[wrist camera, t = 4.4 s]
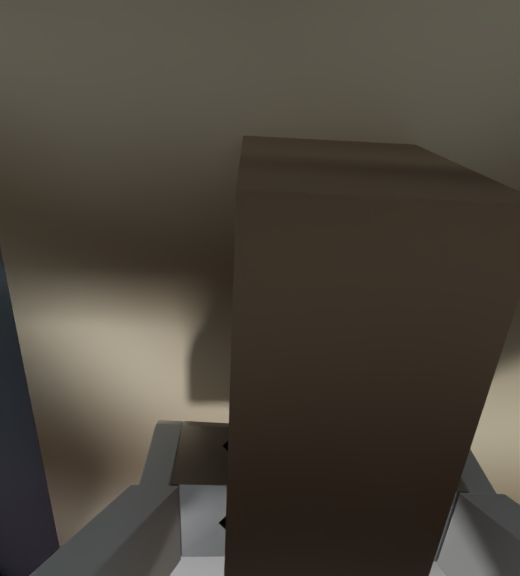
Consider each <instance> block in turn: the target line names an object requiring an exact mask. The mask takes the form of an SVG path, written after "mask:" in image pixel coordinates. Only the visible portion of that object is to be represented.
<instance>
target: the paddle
mask: <svg viewBox="0 0 520 576" xmlns="http://www.w3.org/2000/svg"><path fill="white" fill-rule="evenodd" d="M519 297H520V192H519V191H517V190H515V189H513V188H510V187H508V186H506V185H504V184H502V183H499V182H497V181H495V180H493V179H490V178H488V177H486V176H484V175H482V174H479V173H477V172H475V171H473V170H471V169H468V168H466V167H464V166H462V165H459V164H457V163H455V162H453V161H451V160H448V159H446V158H444V157H442V156H439V155H437V154H435V153H433V152H431V151H428V150H426V149H424V148H422V147H419V146H417V145H412V144H394V143H375V142H356V141H337V140H318V139H300V138H281V137H262V136H243V140H242V148H241V156H240V163H239V171H238V178H237V186H236V206H235V238H234V271H233V303H232V335H231V368H230V400H229V432H228V465H227V497H226V529H225V556H221V557H181V560H180V562H179V563H178V565H177V566H176V567H175V569H174V570H173V572H172V573H171V574H170V576H446V575H445V573H444V572H443V571H442V570H441V569H440V568H439V567H438V565H437V562H434V559H435V555H436V552H437V549H438V546H439V543H440V540H441V537H442V534H443V531H444V528H445V525H446V522H447V519H448V515H449V512H450V509H451V506H452V503H453V500H454V497H455V494H456V491H457V488H458V485H459V482H460V479H461V476H462V472H463V469H464V466H465V463H466V460H467V457H468V454H469V451H470V448H471V445H472V442H473V439H474V436H475V433H476V429H477V426H478V423H479V420H480V417H481V414H482V411H483V408H484V405H485V402H486V399H487V396H488V393H489V389H490V386H491V383H492V380H493V377H494V374H495V371H496V368H497V365H498V362H499V359H500V356H501V353H502V350H503V346H504V343H505V340H506V337H507V334H508V331H509V328H510V325H511V322H512V319H513V316H514V313H515V310H516V307H517V303H518V300H519Z"/></svg>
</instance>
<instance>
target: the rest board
mask: <svg viewBox="0 0 520 576" xmlns="http://www.w3.org/2000/svg"><path fill="white" fill-rule="evenodd" d="M243 136H262V137H281V138H300V139H318V140H337V141H356V142H375V143H394V144H412V145H417V146H419V147H422V148H424V149H426V150H428V151H431V152H433V153H435V154H437V155H439V156H442V157H444V158H446V159H448V160H451V161H453V162H455V163H457V164H459V165H462V166H464V167H466V168H468V169H471V170H473V171H475V172H477V173H479V174H482V175H484V176H486V177H488V178H490V179H493V180H495V181H497V182H499V183H502V184H504V185H506V186H508V187H510V188H513V189H515V190H517V191H519V192H520V0H0V248H1V253H2V258H3V263H4V268H5V273H6V278H7V284H8V289H9V294H10V299H11V304H12V309H13V314H14V319H15V324H16V329H17V334H18V339H19V344H20V349H21V354H22V360H23V365H24V370H25V375H26V380H27V385H28V390H29V395H30V400H31V405H32V410H33V415H34V420H35V425H36V430H37V436H38V441H39V446H40V451H41V456H42V461H43V466H44V471H45V476H46V481H47V486H48V491H49V496H50V501H51V506H52V512H53V517H54V522H55V527H56V532H57V537H58V542H59V547H60V548H61V547H62V546H63V545H64V544H65V543H66V542H67V541H68V540H70V539H71V538H72V537H73V536H74V535H75V534H76V533H77V532H79V531H80V530H81V529H82V528H83V527H84V526H85V525H86V524H88V523H89V522H90V521H91V520H92V519H93V518H94V517H95V516H97V515H98V514H99V513H100V512H101V511H102V510H103V509H104V508H105V507H107V506H108V505H109V504H110V503H111V502H112V501H113V500H114V499H116V498H117V497H118V496H119V495H120V494H121V493H122V492H123V491H125V490H126V489H127V488H128V487H129V486H130V485H139V483H140V479H141V476H142V472H143V468H144V465H145V461H146V457H147V454H148V450H149V446H150V443H151V439H152V436H153V432H154V428H155V425H156V423H157V422H158V420H169V421H183V422H184V421H196V422H215V423H229V400H230V368H231V335H232V303H233V271H234V238H235V206H236V186H237V178H238V171H239V163H240V156H241V148H242V140H243ZM470 449H471V451H472V453H473V454H474V456H475V458H476V459H477V461H478V463H479V464H480V466H481V468H482V469H483V471H484V473H485V475H486V476H487V478H488V480H489V481H490V483H491V485H492V486H493V488H494V490H495V492H496V493H497V494H505V495H507V496H508V497H509V498H511V499H512V500H513V501H515V502H516V503H518V504H519V505H520V297H519V300H518V303H517V307H516V310H515V313H514V316H513V319H512V322H511V325H510V328H509V331H508V334H507V337H506V340H505V343H504V346H503V350H502V353H501V356H500V359H499V362H498V365H497V368H496V371H495V374H494V377H493V380H492V383H491V386H490V389H489V393H488V396H487V399H486V402H485V405H484V408H483V411H482V414H481V417H480V420H479V423H478V426H477V429H476V433H475V436H474V439H473V442H472V445H471V448H470Z"/></svg>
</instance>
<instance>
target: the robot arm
mask: <svg viewBox="0 0 520 576" xmlns="http://www.w3.org/2000/svg"><path fill="white" fill-rule="evenodd" d="M228 432H229V423H215V422H196V421H184V422H183V421H169V420H158V422H157V423H156V425H155V428H154V432H153V436H152V439H151V443H150V446H149V450H148V454H147V457H146V461H145V465H144V468H143V472H142V476H141V479H140V483H139V485H130V486H129V487H128V488H127V489H126V490H125V491H123V492H122V493H121V494H120V495H119V496H118V497H117V498H116V499H114V500H113V501H112V502H111V503H110V504H109V505H108V506H107V507H105V508H104V509H103V510H102V511H101V512H100V513H99V514H98V515H97V516H95V517H94V518H93V519H92V520H91V521H90V522H89V523H88V524H86V525H85V526H84V527H83V528H82V529H81V530H80V531H79V532H77V533H76V534H75V535H74V536H73V537H72V538H71V539H70V540H68V541H67V542H66V543H65V544H64V545H63V546H62V547H61V548H59V549H58V550H57V551H56V552H55V553H54V554H53V555H52V556H50V557H49V558H48V559H47V560H46V561H45V562H44V563H43V564H41V565H40V566H39V567H38V568H37V569H36V570H35V571H34V572H32V573H31V574H30V575H29V576H170V574H171V573H172V572H173V570H174V569H175V567H176V566H177V565H178V563H179V562H180V560H181V557H221V556H225V529H226V497H227V465H228ZM434 562H437V565H438V567H439V568H440V569H441V570H442V571H443V572H444V573H445V575H446V576H520V505H519V504H518V503H516V502H515V501H513V500H512V499H511V498H509V497H508V496H507V495H505V494H497V493H496V492H495V490H494V488H493V486H492V485H491V483H490V481H489V480H488V478H487V476H486V475H485V473H484V471H483V469H482V468H481V466H480V464H479V463H478V461H477V459H476V458H475V456H474V454H473V453H472V451H471V449H470V451H469V454H468V457H467V460H466V463H465V466H464V469H463V472H462V476H461V479H460V482H459V485H458V488H457V491H456V494H455V497H454V500H453V503H452V506H451V509H450V512H449V515H448V519H447V522H446V525H445V528H444V531H443V534H442V537H441V540H440V543H439V546H438V549H437V552H436V555H435V559H434Z"/></svg>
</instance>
